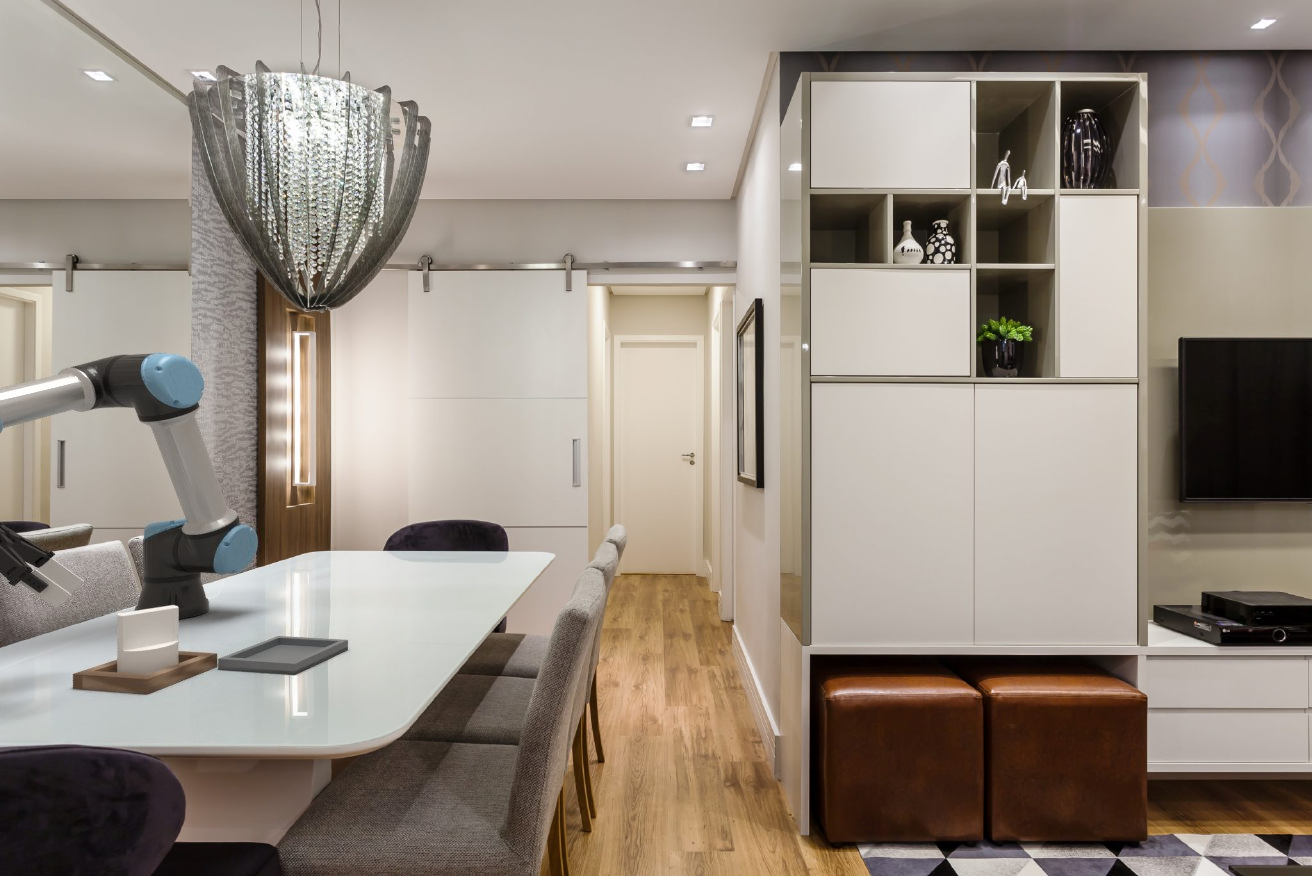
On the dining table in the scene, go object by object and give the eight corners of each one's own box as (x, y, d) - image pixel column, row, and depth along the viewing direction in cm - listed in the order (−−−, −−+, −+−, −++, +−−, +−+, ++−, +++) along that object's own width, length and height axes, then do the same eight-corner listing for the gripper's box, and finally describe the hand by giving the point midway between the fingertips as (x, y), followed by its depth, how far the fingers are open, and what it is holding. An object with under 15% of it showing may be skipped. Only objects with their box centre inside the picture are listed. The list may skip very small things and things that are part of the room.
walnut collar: (149, 661, 139) (149, 648, 139) (217, 666, 136) (217, 653, 136) (72, 688, 124) (72, 673, 124) (147, 694, 121) (147, 679, 121)
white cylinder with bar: (168, 666, 136) (168, 602, 136) (185, 676, 131) (186, 609, 131) (110, 678, 129) (110, 611, 129) (126, 689, 124) (126, 619, 124)
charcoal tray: (278, 645, 150) (278, 635, 150) (348, 649, 147) (348, 639, 147) (218, 669, 134) (218, 658, 134) (294, 674, 131) (294, 663, 131)
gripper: (-46, 520, 126) (64, 597, 134) (-99, 536, 105) (35, 627, 112) (-5, 489, 129) (100, 566, 136) (-49, 498, 107) (79, 589, 115)
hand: (71, 594), depth 124 cm, fingers open, 13 cm apart
